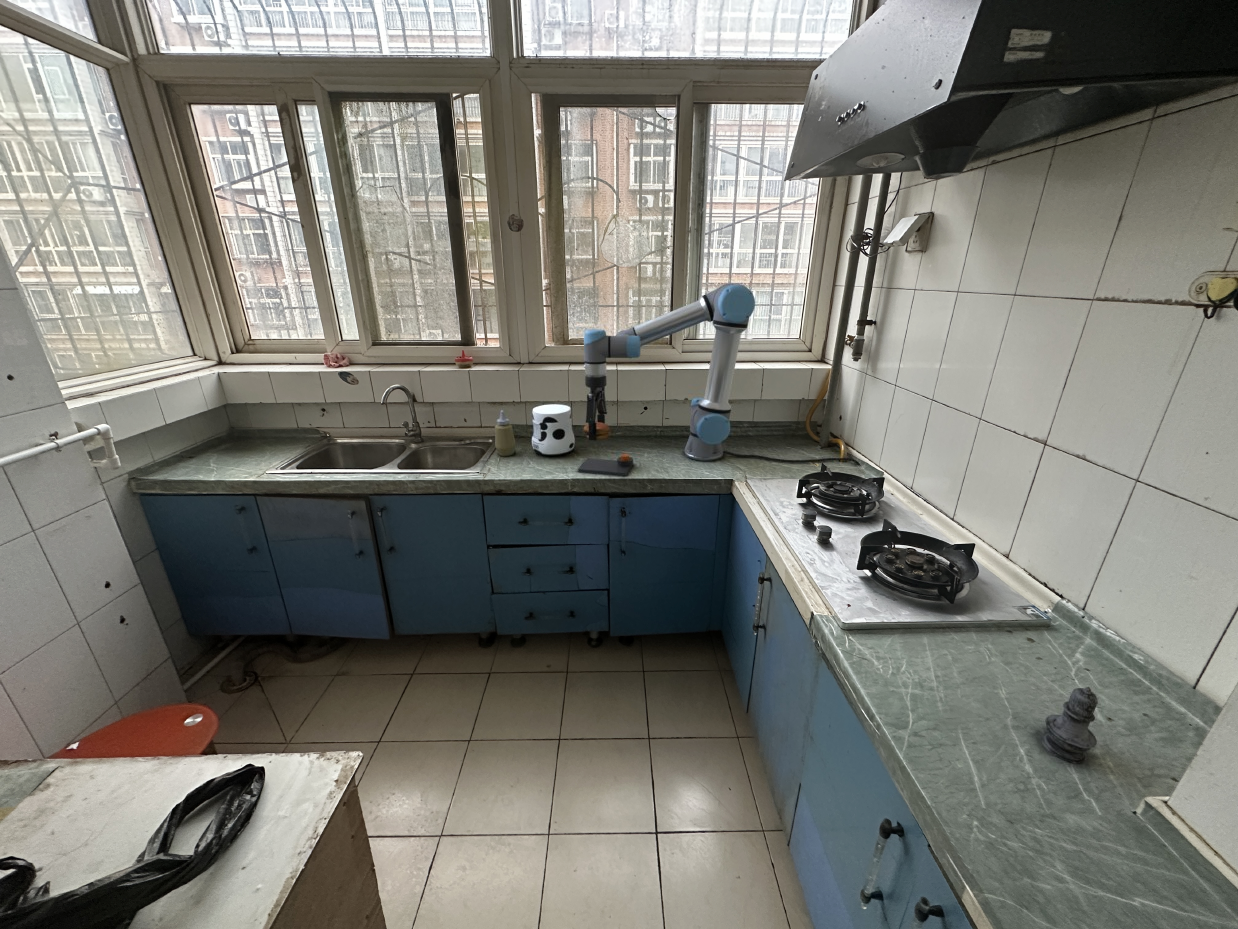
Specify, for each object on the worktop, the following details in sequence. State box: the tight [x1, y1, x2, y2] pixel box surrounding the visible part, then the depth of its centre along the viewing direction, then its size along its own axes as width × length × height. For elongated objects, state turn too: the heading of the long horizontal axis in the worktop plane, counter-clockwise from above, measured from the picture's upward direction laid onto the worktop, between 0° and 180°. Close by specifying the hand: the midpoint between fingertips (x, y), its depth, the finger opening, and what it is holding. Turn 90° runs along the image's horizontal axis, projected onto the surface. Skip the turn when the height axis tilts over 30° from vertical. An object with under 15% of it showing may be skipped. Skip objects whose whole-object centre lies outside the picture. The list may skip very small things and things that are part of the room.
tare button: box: [620, 453, 630, 461], centre depth 187 cm, size 3×3×2 cm
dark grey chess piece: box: [1040, 686, 1099, 765], centre depth 74 cm, size 6×6×12 cm
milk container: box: [531, 403, 576, 457], centre depth 201 cm, size 17×17×18 cm
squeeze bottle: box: [494, 410, 516, 457], centre depth 199 cm, size 8×8×18 cm
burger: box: [583, 421, 611, 441], centre depth 182 cm, size 10×9×5 cm
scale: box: [577, 456, 634, 477], centre depth 186 cm, size 18×12×3 cm
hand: (597, 435), depth 183 cm, fingers closed on burger, 10 cm apart
